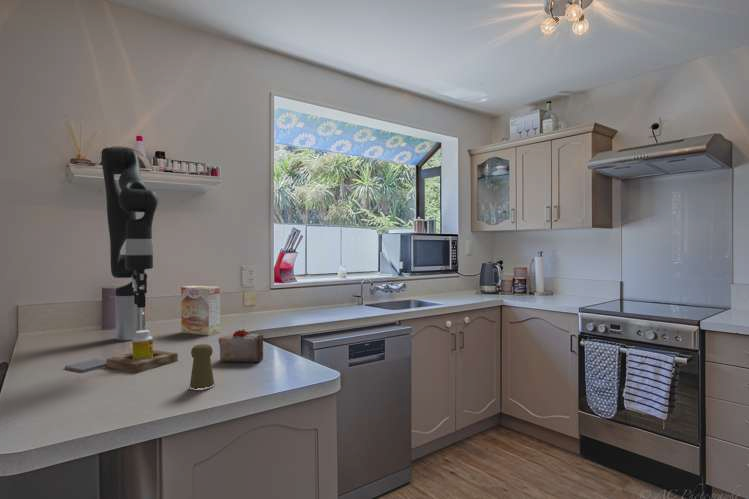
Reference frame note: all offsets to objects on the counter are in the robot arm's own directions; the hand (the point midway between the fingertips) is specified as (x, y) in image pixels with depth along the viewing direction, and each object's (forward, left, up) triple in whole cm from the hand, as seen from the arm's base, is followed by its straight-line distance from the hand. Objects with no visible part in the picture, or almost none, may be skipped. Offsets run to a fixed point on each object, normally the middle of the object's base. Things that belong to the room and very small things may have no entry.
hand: (139, 305), depth 133 cm
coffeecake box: (-43, -21, -18) cm, 51 cm away
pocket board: (-1, 0, -18) cm, 18 cm away
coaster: (+8, -12, -18) cm, 23 cm away
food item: (-17, +25, -18) cm, 36 cm away
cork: (+7, +34, -18) cm, 40 cm away
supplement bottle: (-1, 0, -18) cm, 18 cm away
